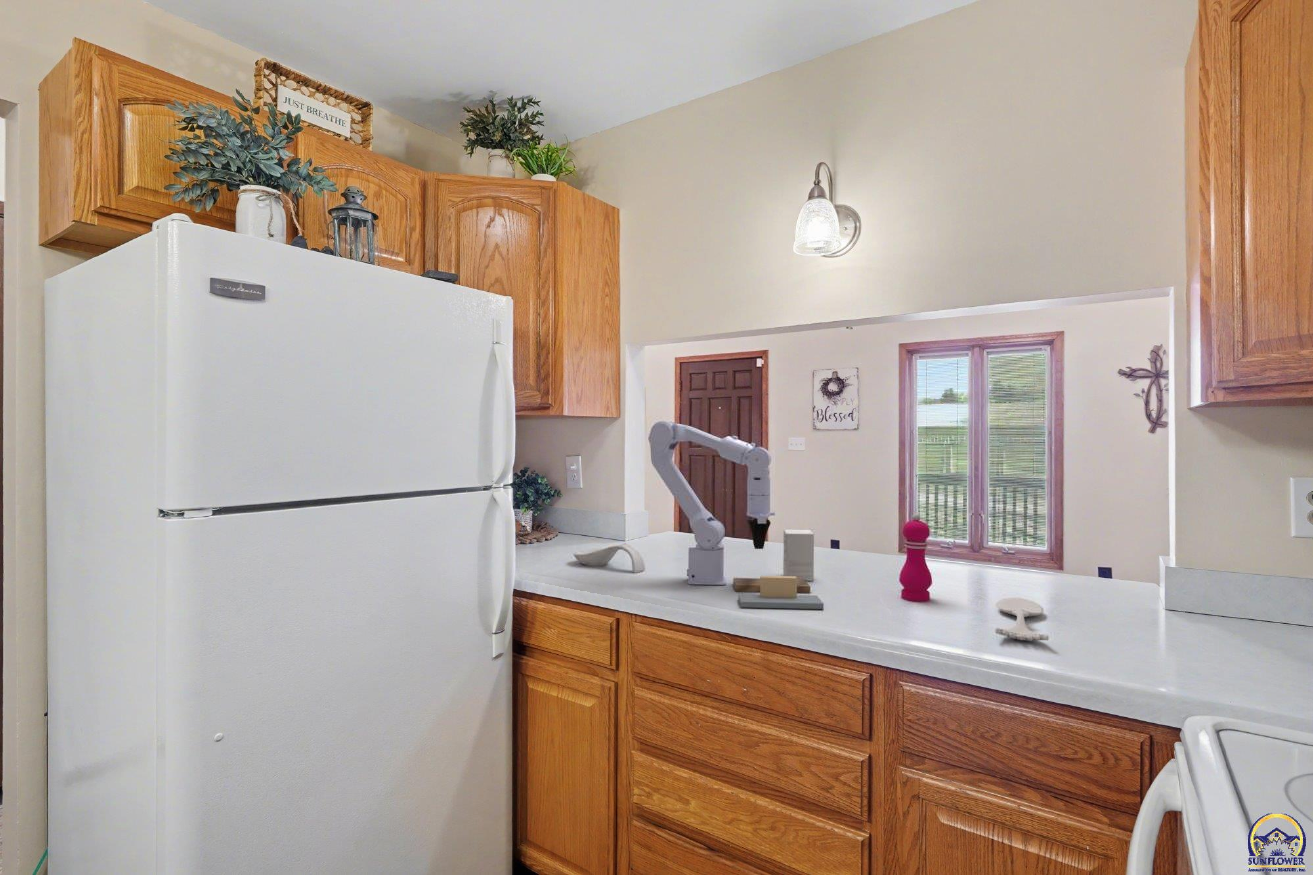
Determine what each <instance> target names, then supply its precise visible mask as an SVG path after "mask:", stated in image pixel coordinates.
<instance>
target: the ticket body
mask: <svg viewBox="0 0 1313 875" xmlns="http://www.w3.org/2000/svg"><path fill="white" fill-rule="evenodd" d="M760 578H761V577H760ZM760 578H756V577H755V578H754V577H749V578H748V577H746V578H745V577H732V582H733V583H732V584H733V588H734V592H737V593H740V592H741V593H743V592H744V593H760ZM797 594H811V585H810V584H809V583H808V581H805V579H797Z"/></svg>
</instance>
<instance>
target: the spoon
mask: <svg viewBox="0 0 1313 875" xmlns="http://www.w3.org/2000/svg"><path fill="white" fill-rule="evenodd" d="M995 606H996V607H997V609H998V610H1000V611H1001V612H1003V613H1005V614H1009V615H1012V616H1014V617H1015V616H1016V622H1015V624H1014V626H1012V627H1011V628H1003V629H1001V628H999V627H995V629H994V630H995V632H994V633H995V634H998V635H1001V636H1004V637H1007V638H1010V639H1014V640H1019V641H1029V642H1033V641H1034V642H1035V641H1049V637H1050V636H1049V634H1046V633H1045V634H1040V633H1037V632H1034V631H1032V630H1030V629H1029V628H1028V627H1027V625H1026V621H1025V618H1026V617H1027V618H1029V617H1034V616H1035V617H1036V616H1039V615H1041V614H1042V613H1044V610H1045V609H1044V608H1043V606H1041V605H1040V604H1039V603H1037V602H1035V601H1033V600H1029V599H1027V598H1021V597H1006V598H1002V599H999V601H997V602H996V604H995Z"/></svg>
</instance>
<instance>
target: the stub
mask: <svg viewBox="0 0 1313 875" xmlns="http://www.w3.org/2000/svg"><path fill="white" fill-rule="evenodd" d="M737 597H738V598H737V599H738V602H739V605H740V608H752V609H754V608H756V609H757V608H758V609H759V608H761V609H762V608H763V609H800V610H801V609H805V610H806V609H807V610H809V609H810V610H813V609H814V610H824V608H825V607H824V602H823V601H822V600H821V598H820V597H819V596H818V595H817V594H816V595H814V594H813V595H812V594H811V595H810V594H809V595H806V594H803V595H802V594H798V593H797V578H796V576H784V575H760V592H759V593H754V594H753V593H738V596H737Z"/></svg>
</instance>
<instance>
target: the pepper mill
mask: <svg viewBox="0 0 1313 875" xmlns="http://www.w3.org/2000/svg"><path fill="white" fill-rule="evenodd" d="M911 518H912V520H909V521H907V522H905V523H904V524H903V526H902V536H903V537H904V538H905V540H904V548H906V559H905V562H904V564H903V566H902V568H901V570H900V573H899V576H898V577H899V580H898V581H899V583H900V584H901V586H902V587H903V588H901V591H900V592H901V595H900V596H901V598H902V599H904V600H906V601H910V602H928V601H930V599H931V598H930V597H931V596H930V593H931V592H930V591H929V590H928V589H929V588H930V587H931V586H932V585H933V577H932V573H931V571H930V569H929V567H928V565H927V560H926V549H927V548H928V542H927V540H928V538H929V537H930V534H931V530H930V527H929V525H928V524H927V523H926V522H925V521H922V520H921V516H920V514H918V513H914V514H913V515H912V516H911Z"/></svg>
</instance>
